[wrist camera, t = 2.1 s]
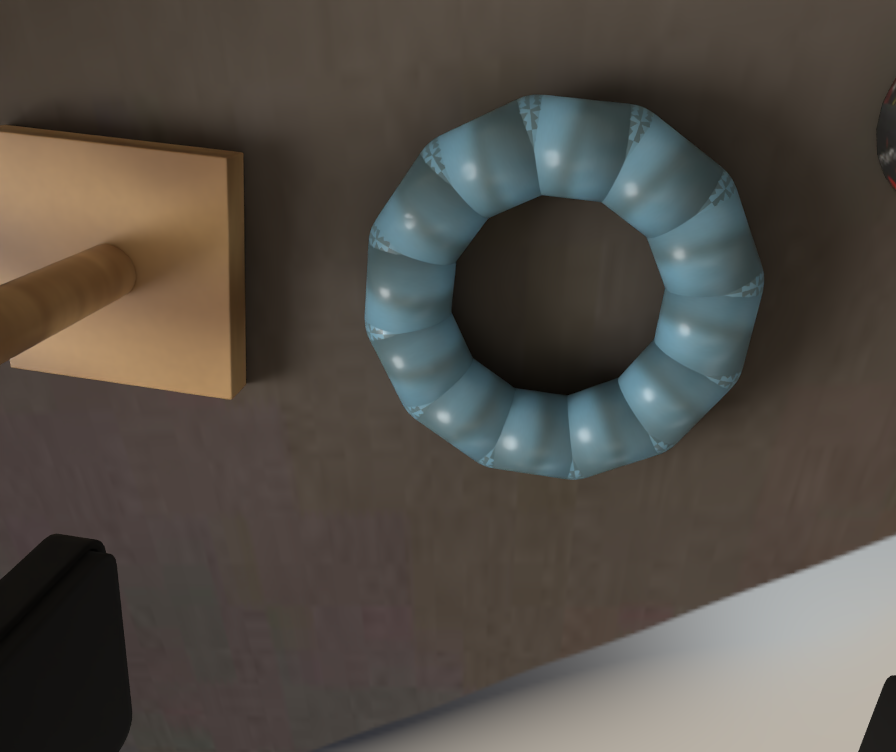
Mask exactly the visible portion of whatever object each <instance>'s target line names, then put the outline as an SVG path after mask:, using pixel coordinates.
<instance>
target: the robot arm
mask: <svg viewBox="0 0 896 752" xmlns="http://www.w3.org/2000/svg"><path fill="white" fill-rule="evenodd" d="M131 721H132V705H131V696H130V686H129V677H128V667H127V658H126V648H125V639H124V629H123V620H122V610H121V601H120V591H119V582H118V572H117V564H116V559H115V558H114V556H113V555H111V554H108V553H106V551H105V547H104V545H103V544H102V542H101V541H98V540H95V539H88V538H81V537H75V536H68V535H62V534H53V535H50V536H48V537H47V538H46V539H44V540H43V541H42V542H41V543H40V544H39V545H38V546H37V547H35V548H34V549H33V550H32V551H31V552H30V553H29V554H28V555H27V556H26V557H25V558H24V559H22V560H21V561H20V562H19V563H18V564H17V565H16V566H15V567H14V568H13V569H12V570H11V571H10V572H8V573H7V574H6V575H5V576H4V577H3V578H2V579H1V580H0V752H119V750H120V749H121V747H122V746H123V744H124V742H125V740H126V738H127V735H128V733H129V730H130V726H131ZM858 752H896V675H894V676H890V677H889V678H887V680H886V682H885V684H884V686H883V688H882V691H881V694H880V697H879V699H878V702H877V704H876V707H875V709H874V712H873V715H872V717H871V720H870V722H869V725H868V728H867V730H866V733H865V735H864V738H863V741H862V744H861V746H860V749H859V751H858Z"/></svg>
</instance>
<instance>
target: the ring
mask: <svg viewBox="0 0 896 752" xmlns="http://www.w3.org/2000/svg"><path fill="white" fill-rule="evenodd" d="M541 195H546V196H554V197H563V198H571V199H580V200H588V201H597V202H602V203H603V204H604V205H606V206H607V207H608V208H610V209H611V210H612V211H613V212H615V213H616V214H617V215H619V216H620V217H621V218H623V219H624V220H625V221H626V222H628V223H629V224H630V225H632V226H633V227H634V228H636V229H637V230H638V231H639V232H641V233H642V234H643V235H645V236H646V237H647V240H648V242H649V245H650V248H651V250H652V253H653V256H654V258H655V261H656V264H657V267H658V269H659V272H660V275H661V277H662V280H663V283H664V285H665V291H664V295H663V300H662V305H661V310H660V314H659V319H658V324H657V329H656V334H655V338H654V339H653V341H652V342H651V343H650V344H649V345H648V346H647V347H646V348H645V349H644V350H643V352H642V353H641V354H640V355H639V356H638V357H637V358H636V359H635V360H634V361H633V363H632V364H631V365H630V366H629V367H628V368H627V369H626V370H625V371H624V372H623V374H622V375H621V376H620V377H619V378H616V379H613V380H610V381H608V382H605V383H602V384H599V385H596V386H593V387H590V388H588V389H585V390H582V391H579V392H576V393H573V394H571V395H561V394H554V393H547V392H539V391H532V390H525V389H518V388H514V387H513V386H511V385H510V384H508V383H507V382H506V381H504V380H503V379H501V378H500V377H499V376H497V375H496V374H494V373H493V372H492V371H490V370H489V369H488V368H486V367H485V366H483V365H482V364H481V363H479V362H478V361H476V360H475V359H474V358H472V355H471V353H470V351H469V349H468V347H467V345H466V343H465V340H464V338H463V336H462V334H461V332H460V330H459V328H458V325H457V323H456V321H455V319H454V317H453V315H452V313H451V310H452V300H453V289H454V279H455V269H456V261H457V260H458V258H459V257H460V256H461V254H462V253H463V252H464V250H465V249H466V248H467V246H468V245H469V244H470V242H471V241H472V240H473V238H474V237H475V235H476V234H477V233H478V231H479V230H480V229H481V227H482V226H483V225H484V223H485V222H486V221H487V219H488V218H490V217H492V216H494V215H497V214H499V213H501V212H504V211H506V210H508V209H511V208H513V207H515V206H518V205H520V204H522V203H525V202H527V201H529V200H532V199H534V198H536V197H539V196H541ZM763 287H764V272H763V268H762V265H761V262H760V259H759V255H758V252H757V249H756V246H755V243H754V240H753V237H752V234H751V231H750V228H749V225H748V222H747V219H746V216H745V213H744V210H743V207H742V203H741V200H740V197H739V194H738V191H737V188H736V186H735V184H734V182H733V180H732V178H731V177H730V175H729V174H728V173H727V172H726V171H725V170H724V169H723V168H722V167H721V166H720V165H719V164H717V163H716V162H715V161H713V160H712V159H711V158H710V157H708V156H707V155H706V154H705V153H703V152H702V151H701V150H700V149H698V148H697V147H696V146H695V145H693V144H692V143H691V142H689V141H688V140H687V139H686V138H684V137H683V136H682V135H681V134H679V133H678V132H677V131H676V130H674V129H673V128H672V127H671V126H669V125H668V124H667V123H666V122H664V121H663V120H662V119H660V118H659V117H658V116H657V115H655V114H654V113H653V112H651V111H650V110H648V109H646V108H644V107H641V106H638V105H633V104H627V103H617V102H608V101H598V100H589V99H579V98H570V97H560V96H551V95H537V94H536V95H528V96H524V97H522V98H519V99H516V100H514V101H512V102H510V103H508V104H506V105H504V106H502V107H499V108H497V109H495V110H493V111H491V112H489V113H487V114H485V115H483V116H480V117H478V118H476V119H474V120H472V121H470V122H468V123H466V124H463V125H461V126H459V127H457V128H455V129H453V130H451V131H449V132H446V133H444V134H442V135H440V136H438V137H437V138H435V139H433V140H432V141H431V142H430V143H428V144H427V145H426V146H425V148H424V149H423V150H422V151H421V153H420V154H419V156H418V157H417V159H416V160H415V162H414V163H413V165H412V166H411V168H410V169H409V171H408V172H407V174H406V175H405V177H404V178H403V180H402V181H401V183H400V184H399V186H398V187H397V189H396V190H395V192H394V193H393V195H392V196H391V198H390V199H389V201H388V202H387V204H386V205H385V207H384V208H383V210H382V211H381V213H380V214H379V216H378V217H377V219H376V221H375V222H374V224H373V226H372V228H371V231H370V235H369V245H368V264H367V284H366V303H365V327H366V331H367V334H368V337H369V339H370V341H371V343H372V345H373V347H374V349H375V351H376V353H377V355H378V357H379V359H380V361H381V363H382V365H383V367H384V369H385V371H386V373H387V375H388V377H389V379H390V380H391V382H392V384H393V386H394V388H395V390H396V392H397V394H398V396H399V398H400V400H401V402H402V404H403V406H404V408H405V409H406V410H407V411H408V413H409V414H410V415H411V416H412V417H414V418H415V419H416V420H418V421H419V422H420V423H422V424H423V425H425V426H426V427H428V428H429V429H430V430H432V431H433V432H435V433H436V434H438V435H439V436H440V437H442V438H443V439H445V440H446V441H448V442H449V443H450V444H452V445H453V446H455V447H456V448H458V449H459V450H460V451H462V452H463V453H465V454H466V455H468V456H469V457H470V458H472V459H473V460H475V461H476V462H478V463H480V464H482V465H484V466H487V467H490V468H495V469H502V470H509V471H515V472H522V473H529V474H535V475H542V476H549V477H555V478H562V479H574V480H576V479H583V478H587V477H590V476H593V475H596V474H599V473H602V472H605V471H609V470H612V469H615V468H618V467H621V466H624V465H627V464H631V463H634V462H637V461H640V460H643V459H646V458H649V457H653V456H656V455H659V454H661V453H663V452H665V451H667V450H669V449H671V448H672V447H673V446H674V445H675V444H677V443H678V442H679V441H680V440H681V439H682V438H683V437H684V436H685V435H686V434H687V433H688V432H689V431H690V430H691V429H692V428H693V427H694V426H695V425H696V424H697V423H698V422H699V421H700V420H701V419H702V418H703V416H704V415H705V414H706V413H707V412H708V411H709V410H710V409H711V408H712V407H713V406H714V405H715V404H716V403H717V402H718V401H719V400H720V399H721V398H722V397H723V396H724V395H725V394H726V393H727V392H728V391H729V390H730V389H731V388H732V387H733V386H734V385H735V383H736V382H737V381H738V379H739V377H740V375H741V372H742V369H743V366H744V362H745V358H746V354H747V350H748V347H749V343H750V339H751V335H752V331H753V327H754V324H755V320H756V316H757V312H758V308H759V304H760V301H761V297H762V293H763Z"/></svg>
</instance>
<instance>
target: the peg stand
mask: <svg viewBox="0 0 896 752" xmlns="http://www.w3.org/2000/svg"><path fill="white" fill-rule="evenodd" d="M8 360H10V364H11V367H12V368H19V369H26V370H32V371H39V372H46V373H53V374H60V375H66V376H73V377H80V378H87V379H94V380H101V381H107V382H114V383H121V384H128V385H135V386H142V387H148V388H155V389H162V390H169V391H176V392H182V393H189V394H196V395H203V396H210V397H217V398H223V399H230V400H231V399H233V398H234V397H235V396H236V395H237V394H238V393H239V391H240V390H241V389H242V388H243V387H244V386H245V385H246V336H245V251H244V166H243V153H242V152H235V151H227V150H218V149H209V148H201V147H192V146H184V145H175V144H166V143H158V142H149V141H141V140H132V139H123V138H115V137H106V136H98V135H89V134H80V133H72V132H63V131H55V130H46V129H37V128H29V127H20V126H12V125H0V365H1V364H2V363H4V362H6V361H8Z"/></svg>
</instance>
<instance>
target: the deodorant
mask: <svg viewBox="0 0 896 752" xmlns="http://www.w3.org/2000/svg"><path fill="white" fill-rule="evenodd" d="M876 131H877V155H878V158H879V161H880V164H881V167H882V169H883V172H884V175H885V177H886V179H887V180H888V181H889V183H890V184H891V186H892V187H893V188H894V190H895V191H896V78H895V80H894V82H893V84H892V86H891V88H890V90H889V92H888V94H887V96H886V97H885V99H884V101H883V104H882V108H881V112H880V116H879V121H878V125H877V129H876Z"/></svg>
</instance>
